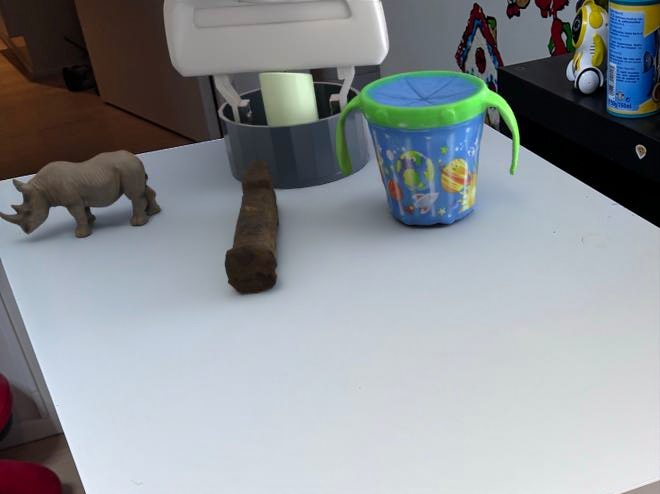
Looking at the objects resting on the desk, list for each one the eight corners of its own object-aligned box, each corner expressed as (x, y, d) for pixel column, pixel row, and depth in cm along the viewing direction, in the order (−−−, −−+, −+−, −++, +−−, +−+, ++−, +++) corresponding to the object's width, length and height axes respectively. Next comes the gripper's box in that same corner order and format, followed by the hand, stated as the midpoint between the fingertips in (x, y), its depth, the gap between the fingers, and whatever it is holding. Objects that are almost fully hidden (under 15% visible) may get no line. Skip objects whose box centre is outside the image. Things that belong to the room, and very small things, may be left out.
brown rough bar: (281, 293, 80) (270, 235, 77) (230, 297, 80) (217, 238, 77) (298, 204, 94) (289, 151, 91) (255, 207, 94) (245, 154, 91)
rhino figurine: (7, 238, 92) (-19, 168, 88) (158, 206, 96) (140, 138, 92) (12, 254, 89) (-15, 183, 85) (167, 220, 93) (148, 151, 89)
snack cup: (531, 192, 93) (528, 68, 86) (507, 240, 85) (501, 109, 78) (368, 188, 96) (352, 68, 89) (331, 234, 88) (311, 107, 81)
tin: (219, 192, 97) (205, 131, 94) (244, 143, 107) (232, 86, 104) (362, 184, 97) (354, 122, 93) (374, 135, 107) (367, 78, 103)
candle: (285, 147, 104) (269, 57, 98) (331, 148, 103) (317, 57, 97) (266, 165, 100) (248, 73, 95) (314, 166, 99) (298, 73, 94)
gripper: (383, -64, 92) (400, 103, 101) (159, -49, 92) (197, 115, 102) (378, -50, 87) (396, 123, 96) (142, -34, 88) (183, 136, 97)
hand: (292, 119), depth 99 cm, fingers open, 8 cm apart
